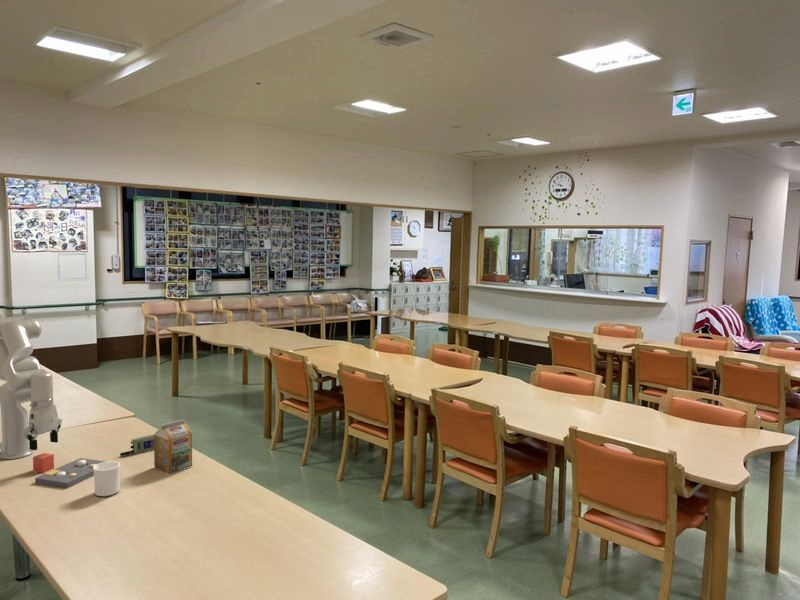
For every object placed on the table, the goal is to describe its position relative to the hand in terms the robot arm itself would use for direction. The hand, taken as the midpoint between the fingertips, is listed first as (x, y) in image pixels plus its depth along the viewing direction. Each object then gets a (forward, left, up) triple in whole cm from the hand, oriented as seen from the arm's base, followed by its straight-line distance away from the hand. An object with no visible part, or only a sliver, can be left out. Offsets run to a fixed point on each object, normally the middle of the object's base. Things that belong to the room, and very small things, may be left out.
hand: (44, 445), depth 230 cm
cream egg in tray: (+13, -5, -10) cm, 17 cm away
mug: (+38, -9, -10) cm, 41 cm away
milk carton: (+45, +19, -10) cm, 50 cm away
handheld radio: (+23, +33, -11) cm, 42 cm away
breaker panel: (+14, 0, -10) cm, 17 cm away
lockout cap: (-1, 0, -10) cm, 10 cm away
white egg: (+13, +5, -9) cm, 16 cm away
